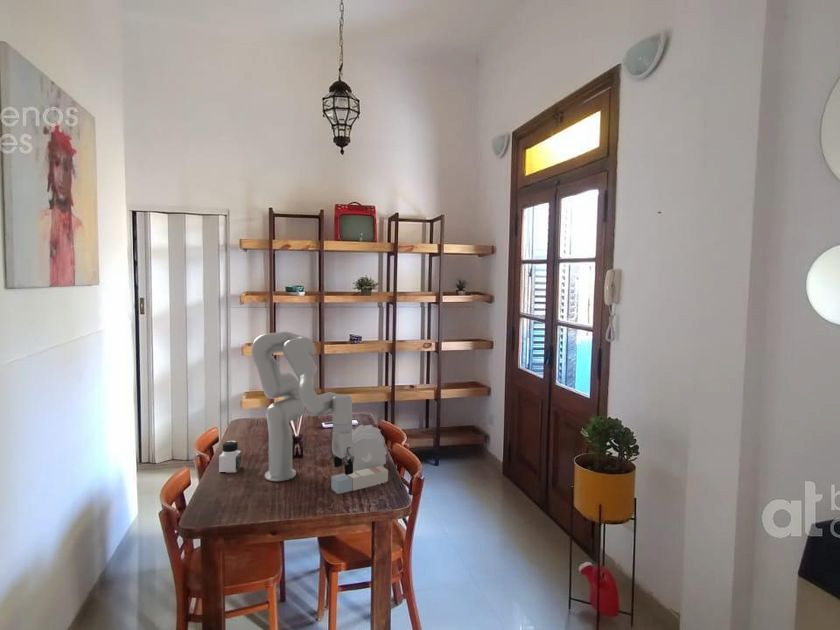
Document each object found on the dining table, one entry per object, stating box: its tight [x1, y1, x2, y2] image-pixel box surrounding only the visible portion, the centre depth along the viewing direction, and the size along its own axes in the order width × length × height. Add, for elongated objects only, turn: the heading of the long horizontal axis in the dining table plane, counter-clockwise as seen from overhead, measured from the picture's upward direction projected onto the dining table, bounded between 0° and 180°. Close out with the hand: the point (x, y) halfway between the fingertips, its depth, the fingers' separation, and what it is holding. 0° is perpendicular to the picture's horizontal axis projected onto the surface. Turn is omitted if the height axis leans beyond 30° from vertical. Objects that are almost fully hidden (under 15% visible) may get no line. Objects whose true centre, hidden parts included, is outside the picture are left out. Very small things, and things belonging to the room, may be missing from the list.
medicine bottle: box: [218, 440, 242, 473], centre depth 211 cm, size 7×7×12 cm
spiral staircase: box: [347, 424, 388, 471], centre depth 216 cm, size 18×18×25 cm
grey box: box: [330, 472, 352, 495], centre depth 193 cm, size 6×6×5 cm
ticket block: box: [348, 466, 389, 492], centre depth 199 cm, size 6×16×5 cm, turn 124°
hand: (343, 470), depth 192 cm, fingers open, 9 cm apart
